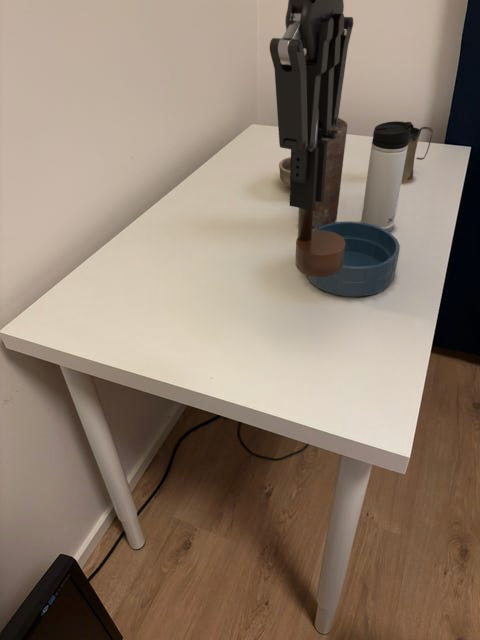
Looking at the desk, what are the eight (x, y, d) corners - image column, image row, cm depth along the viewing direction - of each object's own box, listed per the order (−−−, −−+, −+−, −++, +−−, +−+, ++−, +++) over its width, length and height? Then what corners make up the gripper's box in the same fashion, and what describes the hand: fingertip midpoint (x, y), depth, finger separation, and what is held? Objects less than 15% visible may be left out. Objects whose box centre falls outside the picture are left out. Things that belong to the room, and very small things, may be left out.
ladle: (349, 258, 58) (368, 101, 47) (331, 282, 54) (347, 118, 43) (307, 247, 60) (315, 95, 49) (287, 269, 57) (291, 111, 46)
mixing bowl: (404, 263, 86) (411, 233, 82) (376, 309, 76) (381, 278, 73) (325, 242, 93) (328, 214, 89) (289, 283, 83) (290, 253, 79)
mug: (385, 180, 113) (393, 128, 106) (390, 172, 117) (398, 120, 109) (420, 186, 110) (431, 132, 103) (424, 176, 114) (435, 124, 106)
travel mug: (397, 234, 94) (418, 129, 81) (363, 235, 94) (378, 130, 82) (390, 219, 99) (408, 117, 86) (358, 219, 99) (371, 118, 86)
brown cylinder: (344, 222, 99) (355, 120, 86) (323, 236, 95) (332, 132, 82) (313, 211, 103) (319, 113, 90) (292, 224, 99) (295, 123, 86)
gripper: (314, -72, 45) (303, 172, 60) (232, -65, 35) (244, 224, 50) (394, -76, 42) (361, 183, 57) (328, -69, 32) (310, 240, 47)
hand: (306, 202), depth 54 cm, fingers closed on ladle, 2 cm apart
